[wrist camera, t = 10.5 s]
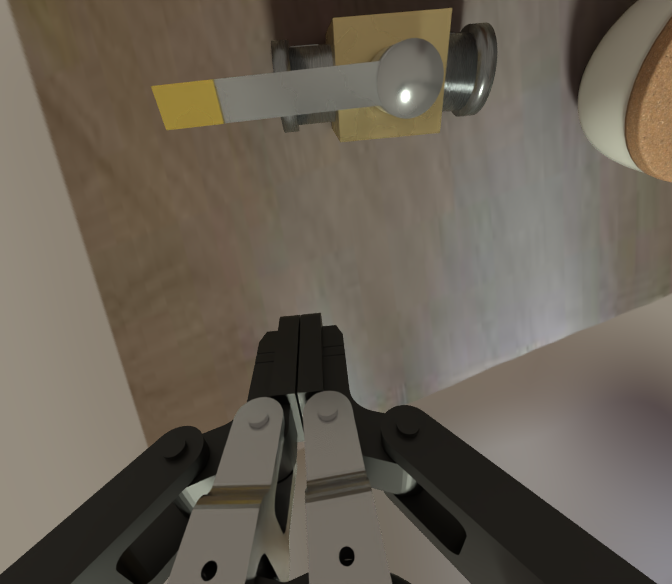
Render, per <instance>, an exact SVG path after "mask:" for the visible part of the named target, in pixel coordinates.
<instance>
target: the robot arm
mask: <svg viewBox="0 0 672 584" xmlns="http://www.w3.org/2000/svg"><path fill="white" fill-rule="evenodd" d="M302 441H304V443H305V461H306V476H307V488H306V491H305V509H306V529H307V549H308V569H309V572H308V573H306V574H304V575H302V576H300V577H297V578H295V579H293V580H291V581H289V570H290V549H289V535H290V525H291V517H292V508H293V499H294V490H295V481H296V472H297V461H296V458H297V442H302ZM371 488H375V489H379V490H383V491H384V493H385V494H386V496H387V497H388V498H389V499H390V500H391V501H392V502H393V503H394V504H395V505H396V506H397V507H398V508H399V509H400V510H401V511H402V513H404V515H405V516H406V517H407V518H408V519H409V520H410V521H411V522H412V523H413V524H414V525H415V526H416V527H417V528H418V529H419V530H420V531H421V532H422V533H423V534H424V535H425V536H426V537H427V538H428V539H429V540H430V542H432V544H433V545H434V546H435V547H436V548H437V549H438V550H439V551H440V552H441V553H442V554H443V555H444V556H445V557H446V558H447V559H448V560H449V561H450V562H451V563H452V564H453V565H454V566H455V567H456V568H457V570H458V571H459V572H460V573H461V574H462V575H463V576H464V577H465V578H466V579H467V580H468V581H469V582H470V583H471V584H657V583H655V582H654V581H653V580H651V579H650V578H649V577H647V576H646V575H644V574H643V573H642V572H640V571H639V570H638V569H636V568H635V567H634V566H632V565H631V564H630V563H628V562H627V561H626V560H624V559H623V558H621V557H620V556H619V555H617V554H616V553H615V552H613V551H612V550H610V549H609V548H608V547H607V546H605V545H604V544H602V543H601V542H600V541H598V540H597V539H596V538H594V537H593V536H592V535H590V534H588V532H586V531H585V530H583V529H582V528H581V527H579V526H578V525H577V524H575V523H574V522H573V521H571V520H570V519H568V518H567V517H566V516H564V515H563V514H562V513H560V512H559V511H558V510H556V509H555V508H553V507H552V506H551V505H550V504H548V503H547V502H545V501H544V500H543V499H541V498H540V497H538V496H537V495H536V494H535V493H533V492H532V491H531V490H529V489H528V488H526V487H525V486H524V485H522V484H521V483H520V482H518V481H517V480H516V479H514V478H513V477H511V476H510V475H509V474H507V473H506V472H505V471H503V470H502V469H501V468H499V467H498V466H497V465H495V464H494V463H493V462H491V461H490V460H488V459H487V458H486V457H484V456H483V455H482V454H480V453H479V452H478V451H476V450H475V449H474V448H472V447H471V446H469V445H468V444H467V443H465V442H464V441H463V440H461V439H460V438H459V437H457V436H456V435H454V434H453V433H452V432H450V431H449V430H448V429H446V428H445V427H444V426H442V425H441V424H440V423H438V422H437V421H436V420H434V419H433V418H431V417H430V416H429V415H427V414H426V413H425V412H423V411H422V410H420V409H418V408H416V407H413V406H408V405H400V406H396V407H393V408H391V409H390V410H388V411H387V412H386V413H380V412H376V411H371V410H368V409H365V408H363V407H361V406H360V405H359V404H357V403H356V402H355V401H354V399H353V398H352V396H351V394H350V390H349V383H348V375H347V366H346V358H345V349H344V341H343V334H342V332H341V331H340V330H339V329H338V327H337V326H336V325H332V326H322V318H321V313H314V314H304V315H301V316H300V315H294V316H284V317H280V320H279V327H278V331H271V332H267V333H266V334H265V335H264V337H263V338H262V339H261V341H260V342H259V346H258V351H257V356H256V361H255V366H254V371H253V376H252V380H251V385H250V390H249V395H248V400H247V403H246V404H244V405H243V406H242V407H241V408H240V409H239V410H238V412H237V413H236V415H235V417H234V420H232V421H231V422H229V423H227V424H226V425H223V426H221V427H219V428H216V429H213V430H211V431H208V432H206V433H203V434H202V433H201V431H200V430H199V429H197V428H195V427H192V426H182V427H178V428H175V429H173V430H171V431H169V432H167V433H166V434H164V435H163V436H162V437H161V438H159V439H158V440H157V441H156V442H155V443H154V444H152V445H151V446H150V447H149V448H148V449H147V450H146V451H144V452H143V453H142V454H141V455H140V456H138V457H137V458H136V459H135V460H134V461H133V462H131V463H130V464H129V465H128V466H127V467H126V468H124V469H123V470H122V471H121V472H120V473H119V474H117V475H116V476H115V477H114V478H113V479H112V480H110V481H109V482H108V483H107V484H106V485H105V486H103V487H102V488H101V489H100V490H99V491H97V492H96V493H95V494H94V495H93V496H92V497H90V498H89V499H88V500H87V501H86V502H85V503H83V504H82V505H81V506H80V507H79V508H78V509H76V510H75V511H74V512H73V513H72V514H71V515H70V516H68V517H67V518H66V519H65V520H64V521H63V522H61V523H60V524H59V525H58V526H57V527H55V528H54V529H53V530H52V531H51V532H50V533H48V534H47V535H46V536H45V537H44V538H43V539H41V540H40V541H39V542H38V543H37V544H36V545H34V546H33V547H32V548H31V549H30V550H29V551H27V552H26V553H25V554H24V555H23V556H22V557H20V558H19V559H18V560H17V561H16V562H15V563H13V564H12V565H11V566H10V567H9V568H7V569H6V570H5V571H4V572H3V573H2V574H0V584H163V583H164V582H165V581H166V580H167V579H168V577H169V579H168V582H167V584H411V583H409V582H408V581H406V580H404V579H403V578H401V577H399V576H397V575H395V574H392V573H390V572H389V567H388V562H387V558H386V553H385V548H384V544H383V539H382V535H381V530H380V525H379V521H378V516H377V512H376V507H375V502H374V498H373V493H372V489H371Z"/></svg>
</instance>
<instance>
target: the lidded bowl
mask: <svg viewBox="0 0 672 584" xmlns="http://www.w3.org/2000/svg"><path fill="white" fill-rule="evenodd" d="M578 116H579V120H580V125H581V128H582V130H583V132H584V134H585V136H586V138H587V139H588V140H589V141H590V143H591V144H592V145H593V147H594V148H595V149H597V150H598V151H599V152H601V153H602V154H603V155H605V156H606V157H608V158H609V159H611V160H613V161H615V162H617V163H619V164H621V165H624V166H626V167H628V168H631V169H634V170H637V171H640V172H644V173H646V174H648V175H650V176H653V177H655V178H657V179H661V180H664V181H668V182H672V0H637V1H636V2H635V3H634V4H633V5H632V6H631V7H630V8H629V9H627V10H626V11H625V13H624V14H623V15H622V16H621V17H620V18H619V19H618V20H617V21H616V23H615V24H614V25H613V26H612V27H611V28H610V29H609V30H608V32H607V33H606V35H605V36H604V37H603V39H602V40H601V41H600V43H599V44H598V46H597V48H596V49H595V51H594V53H593V54H592V56H591V58H590V60H589V62H588V64H587V66H586V68H585V70H584V73H583V76H582V79H581V83H580V87H579V94H578Z"/></svg>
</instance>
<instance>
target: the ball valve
mask: <svg viewBox="0 0 672 584" xmlns="http://www.w3.org/2000/svg"><path fill="white" fill-rule="evenodd" d="M451 15H452V8H445V9H433V10H421V11H409V12H397V13H385V14H373V15H361V16H349V17H337V18H333V19H332V21H331V23H330V25H329V28H328V30H327V32H326V34H325V37H326V44H324V45H319V44H313V45H301V46H290V47H289V42H288V39H287V40H276V41H271V49H272V61H273V69H274V73H276V72H285V71H294V70H303V69H312V68H321V67H330V66H339V65H348V64H357V63H366V62H372V60H373V59H374V57H375V56H376V55H377V54H378V53H379V52H380V51H381V50H383V49H384V48H386V47H389V46H391V45H393V44H396V43H398V42H401V41H403V40H406V39H410V38H420V39H424V40H426V41H428V42H430V43H431V44H432V45H433V46H434V47H435V48H436V49H437V51H438V52H439V54H440V56H441V59H442V62H443V69H444V78H443V84H442V88H441V91H440V93H439V95H438V97H437V99H436V101H435V102H434V103H433V105H432V106H431V107H430V108H429V109H428V110H427V111H426V112H424V113H423V114H421V115H419V116H417V117H414V118H409V119H404V118H399V117H396V116H393V115H390V114H388V113H385V112H383V111H381V110H379V109H378V108H376V107H375V106H372V107H363V108H354V109H345V110H336V111H328V112H319V113H310V114H301V115H292V116H284V117H281V120H282V124H283V128H284V132H285V133H287V132H298V131H299V125H304V124H315V123H326V122H332V129H333V131H334V132H335V134H336V136H337V137H338V139H339V141H340V142H347V141H357V140H368V139H378V138H389V137H400V136H410V135H421V134H431V133H440V126H441V116H442V112H445V111H452V113H453V114H454V115H455V116H469V115H475V114H476V113H478V112H479V111H480V110H481V108H482V107H483V106H484V104H485V102H486V100H487V98H488V96H489V93H490V90H491V87H492V84H493V80H494V76H495V71H496V63H497V40H496V35H495V32H494V29H493V27H492V26H491V25H490V24H489V23H476V24H468V25H466V26H465V27H464V28H463V29H462V30H461V32H460V33H455V32H453V33H450V25H451Z"/></svg>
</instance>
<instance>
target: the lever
mask: <svg viewBox="0 0 672 584" xmlns="http://www.w3.org/2000/svg"><path fill="white" fill-rule="evenodd" d="M443 78H444V69H443V62H442V59H441V56H440V54H439V52H438V51H437V49H436V48H435V47H434V46H433V45H432V44H431V43H430V42H428V41H426V40H424V39H420V38H410V39H406V40H403V41H401V42H398V43H396V44H393V45H391V46H389V47H386V48H384V49H383V50H381V51H380V52H379V53H378V54H377V55H376V56H375V57H374V59H373V60H372V62H366V63H357V64H348V65H339V66H330V67H321V68H312V69H303V70H294V71H285V72H276V73H267V74H258V75H249V76H240V77H231V78H222V79H212V80H203V81H194V82H185V83H176V84H167V85H158V86H151V88H152V91H153V93H154V96H155V99H156V102H157V105H158V108H159V110H160V113H161V116H162V119H163V122H164V125H165V127H166V130H172V129H181V128H190V127H199V126H207V125H216V124H224V123H231V122H240V121H248V120H257V119H266V118H275V117H284V116H292V115H301V114H310V113H319V112H328V111H336V110H345V109H354V108H363V107H372V106H375V107H376V108H378V109H379V110H381V111H383V112H385V113H388V114H390V115H393V116H396V117H399V118H404V119H409V118H414V117H417V116H419V115H421V114H423V113H424V112H426V111H427V110H428V109H429V108H430V107H431V106H432V105H433V103H434V102H435V101H436V99H437V97H438V95H439V93H440V91H441V88H442V84H443Z"/></svg>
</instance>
